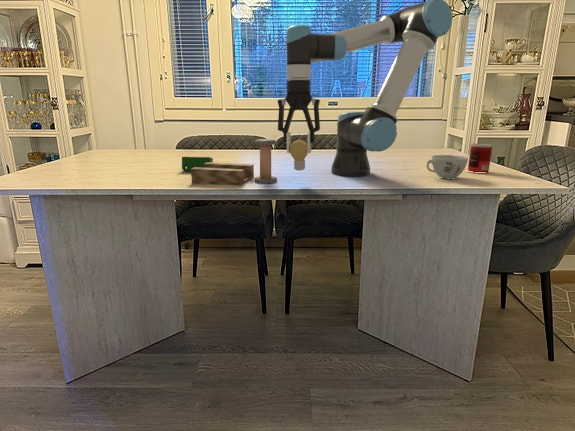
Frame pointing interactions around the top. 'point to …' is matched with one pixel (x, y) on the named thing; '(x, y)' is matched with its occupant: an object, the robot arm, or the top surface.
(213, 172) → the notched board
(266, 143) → the bobbin
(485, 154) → the canned food
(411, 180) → the top surface
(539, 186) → the top surface
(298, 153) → the light bulb
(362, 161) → the robot arm
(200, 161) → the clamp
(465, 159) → the teacup
